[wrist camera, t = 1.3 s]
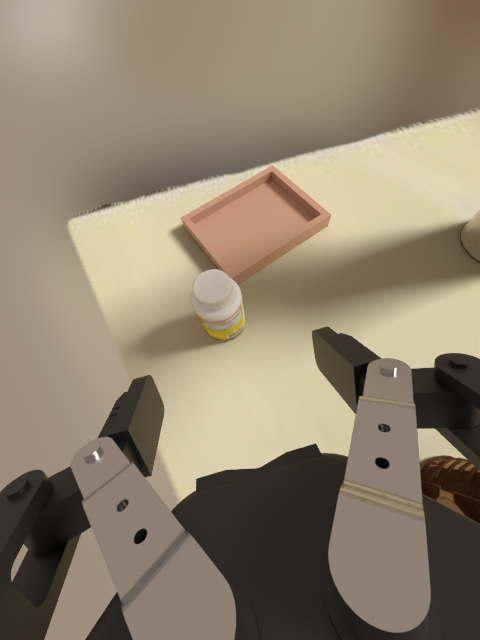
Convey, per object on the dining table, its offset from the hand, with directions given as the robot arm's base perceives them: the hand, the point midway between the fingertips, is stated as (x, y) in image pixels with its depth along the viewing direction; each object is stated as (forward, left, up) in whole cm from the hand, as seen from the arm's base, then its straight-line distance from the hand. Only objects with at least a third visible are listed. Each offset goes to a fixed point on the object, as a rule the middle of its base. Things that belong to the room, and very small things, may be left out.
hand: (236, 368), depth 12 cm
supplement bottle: (-3, -10, -20) cm, 23 cm away
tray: (-16, -21, -20) cm, 33 cm away
